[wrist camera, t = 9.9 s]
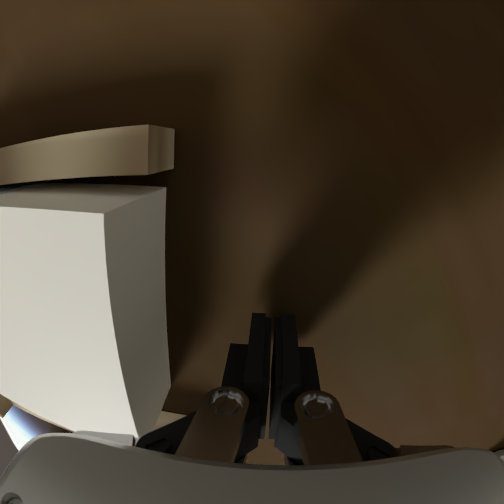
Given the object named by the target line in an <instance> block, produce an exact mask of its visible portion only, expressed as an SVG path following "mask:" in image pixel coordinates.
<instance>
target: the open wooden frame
mask: <svg viewBox="0 0 504 504" xmlns="http://www.w3.org/2000/svg"><path fill="white" fill-rule="evenodd" d="M174 133H175V129H172V128H167V127H161V126H154V125H137V126H126V127H116V128H107V129H99V130H91V131H84V132H77V133H71V134H65V135H59V136H54V137H48V138H43V139H38V140H33V141H29V142H24V143H20V144H15V145H11V146H7V147H3V148H0V185H5V184H13V183H22V182H31V181H42V180H53V179H66V178H80V177H98V176H122V175H149V174H153V173H157V172H162V171H166V170H170V169H174ZM13 405H14V406H16V407H18V408H20V409H22V410H24V411H26V412H28V413H30V414H32V415H34V416H36V417H38V418H41V419H43V420H45V421H47V422H50V423H52V424H54V425H57V426H59V427H61V428H64V429H66V430H69V431H71V432H75V431H72V430H70V429H68V428H65V427H63V426H61V425H58V424H56V423H54V422H52V421H50V420H48V419H46V418H43V417H41V416H39V415H37V414H35V413H33V412H32V411H30V410H28V409H26V408H24V407H22V406H20V405H18V404H17V403H15V402H13V401H11V400H10V399H8V398H6V397H4V396H3V395H1V394H0V416H1V417H2V418H3V417H4V416H5V414H6V413H7V412H8V411H9V409H10V408H11V407H12V406H13ZM185 416H187V415H182V414H176V413H170V412H165V411H161V412H160V415H159V418H158V420H157V423H156V425H155V428H154V430H156V429H158V428H161V427H163V426H165V425H167V424H170V423H172V422H174V421H176V420H178V419H181V418H183V417H185ZM154 430H153V431H154Z"/></svg>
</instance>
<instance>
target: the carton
mask: <svg viewBox="0 0 504 504" xmlns="http://www.w3.org/2000/svg"><path fill="white" fill-rule="evenodd" d="M165 211H166V187H155V186H137V185H115V184H84V183H13V184H5V185H0V394H1V395H3V396H4V397H6V398H8V399H10V400H11V401H13V402H15V403H17V404H18V405H20V406H22V407H24V408H26V409H28V410H30V411H32V412H33V413H35V414H37V415H39V416H41V417H43V418H46V419H48V420H50V421H52V422H54V423H56V424H58V425H61V426H63V427H65V428H68V429H70V430H72V431H75V432H76V431H83V430H85V431H94V432H104V433H115V434H131V435H134V437H135V438H141V437H142V436H143V435H145V434H147V433H149V432H151V431H153V430H154V428H155V425H156V423H157V420H158V418H159V415H160V412H161V410H162V407H163V405H164V402H165V400H166V397H167V395H168V392H169V390H170V387H171V379H170V367H169V354H168V339H167V321H166V294H165Z"/></svg>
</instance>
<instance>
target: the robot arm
mask: <svg viewBox="0 0 504 504" xmlns="http://www.w3.org/2000/svg"><path fill="white" fill-rule="evenodd" d="M270 351H271V317H266V314H263V313H252V320H251V328H250V336H249V343H248V345H247V344H232V343H231V344H230V348H229V353H228V358H227V362H226V367H225V371H224V376H223V381H222V385H221V387H218V388H215V389H212V390H211V391H209V392H208V393H207V394H206V395H205V396H204V398H203V400H202V402H201V404H200V406H199V408H198V410H197V411H195V412H193V413H191V414H189V415H187V416H185V417H183V418H181V419H178V420H176V421H174V422H172V423H170V424H167V425H165V426H163V427H161V428H158V429H156V430H154V431H151V432H149V433H147V434H145V435H143V436H142V437H141V438H135V437H134V435H131V434H115V433H104V432H94V431H85V430H83V431H76V432H73V433H48V434H42V435H39V436H36V437H34V438H33V439H31V440H30V441H29V442H27V443H26V444H25V445H24V446H23V447H22V448H21V450H20V451H19V452H18V453H17V454H16V456H15V457H14V458H13V460H12V461H11V463H10V464H9V465H8V467H7V468H6V470H5V471H4V473H3V475H2V476H1V478H0V504H504V449H503V450H499V451H496V452H492V451H489V450H486V449H481V448H470V447H461V448H454V447H452V446H448V445H437V446H410V445H400V447H399V448H394V447H393V446H392V445H391V444H389V443H388V442H386V441H384V440H383V439H381V438H379V437H377V436H375V435H374V434H372V433H370V432H368V431H366V430H365V429H363V428H361V427H359V426H358V425H356V424H354V423H353V422H351V421H349V420H348V419H346V418H345V416H344V414H343V412H342V409H341V407H340V404H339V402H338V401H337V399H336V398H335V397H334V396H333V395H331V394H329V393H327V392H324V391H321V390H320V384H319V377H318V371H317V365H316V359H315V353H314V349H313V347H298V339H297V330H296V321H295V315H285V314H281V318H275V330H274V343H273V355H272V366H271V389H270V422H269V439H275V441H274V447H276V448H278V449H279V450H280V451H281V452H283V453H284V460H285V465H257V464H245V463H246V459H247V453H249V452H250V451H252V450H253V449H255V448H256V447H258V439H264V436H265V426H266V416H267V406H268V395H269V382H270Z"/></svg>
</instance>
